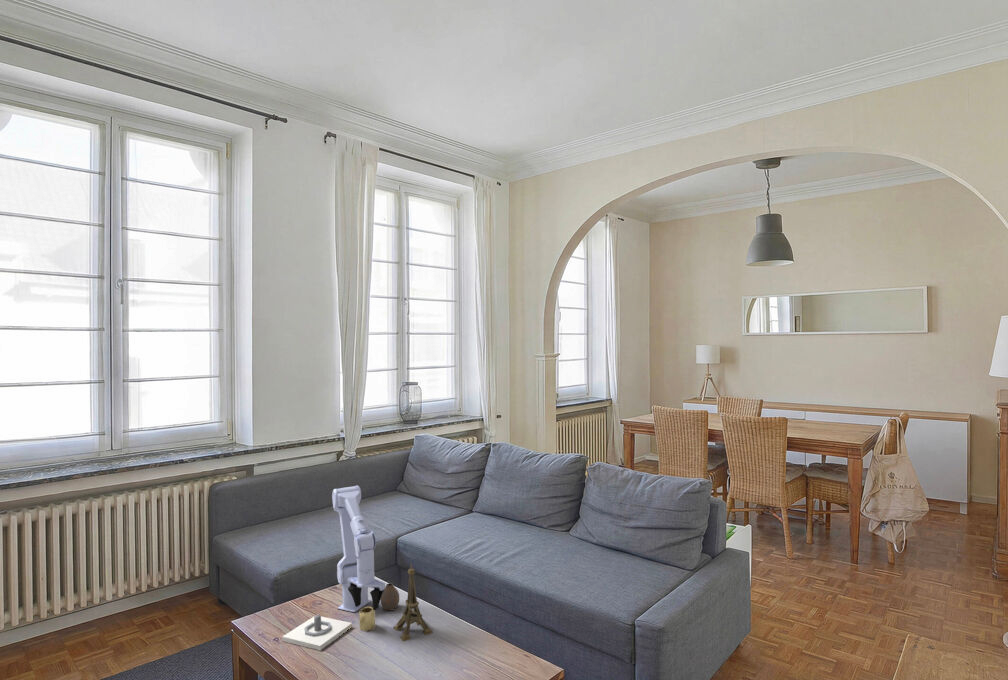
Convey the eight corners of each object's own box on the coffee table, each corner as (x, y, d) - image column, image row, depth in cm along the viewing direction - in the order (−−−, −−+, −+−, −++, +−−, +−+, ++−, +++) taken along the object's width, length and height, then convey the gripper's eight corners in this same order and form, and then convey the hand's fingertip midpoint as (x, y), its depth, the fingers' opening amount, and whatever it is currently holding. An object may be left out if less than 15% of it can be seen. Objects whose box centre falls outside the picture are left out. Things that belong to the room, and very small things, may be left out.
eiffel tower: (393, 627, 204) (391, 555, 204) (422, 620, 209) (420, 549, 209) (402, 641, 195) (400, 566, 194) (432, 633, 200) (430, 559, 199)
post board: (316, 619, 211) (315, 602, 211) (352, 627, 205) (351, 610, 205) (282, 641, 197) (281, 623, 197) (320, 650, 190) (319, 631, 190)
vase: (383, 614, 214) (383, 590, 214) (378, 606, 220) (377, 583, 220) (402, 609, 217) (401, 585, 217) (396, 602, 223) (395, 579, 223)
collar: (366, 622, 208) (365, 605, 208) (377, 625, 206) (377, 608, 206) (357, 629, 203) (356, 612, 203) (368, 632, 201) (368, 614, 201)
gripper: (341, 569, 204) (342, 609, 204) (376, 575, 198) (377, 616, 198) (354, 562, 210) (355, 600, 210) (388, 567, 204) (389, 606, 204)
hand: (366, 607), depth 205 cm, fingers open, 7 cm apart
